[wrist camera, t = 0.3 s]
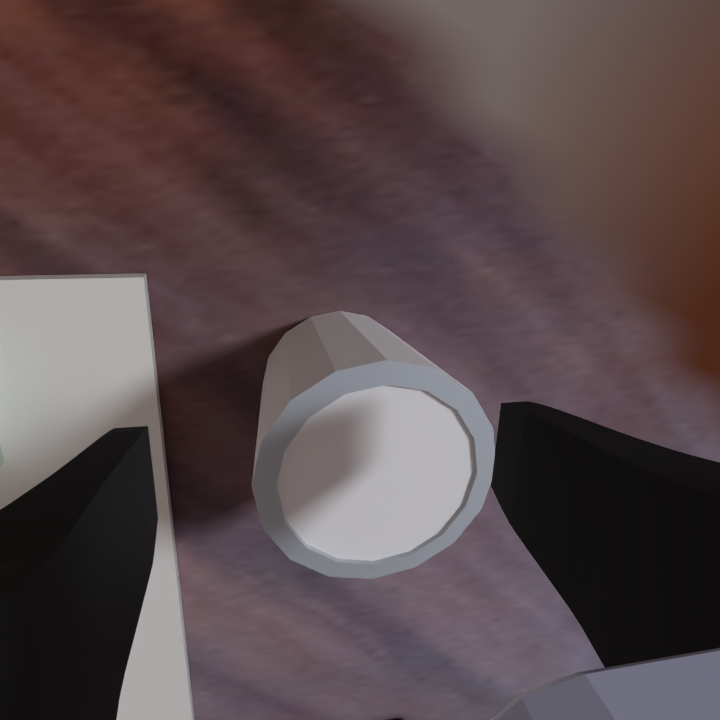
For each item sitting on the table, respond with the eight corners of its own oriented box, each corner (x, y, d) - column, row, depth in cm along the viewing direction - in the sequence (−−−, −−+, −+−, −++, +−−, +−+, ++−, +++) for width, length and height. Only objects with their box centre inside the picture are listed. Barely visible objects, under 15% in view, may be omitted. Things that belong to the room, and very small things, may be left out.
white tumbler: (377, 479, 24) (430, 603, 17) (218, 431, 22) (212, 552, 15) (452, 333, 22) (541, 410, 16) (289, 265, 20) (315, 322, 14)
